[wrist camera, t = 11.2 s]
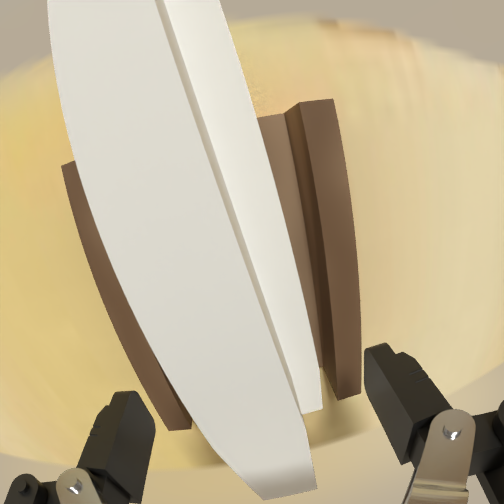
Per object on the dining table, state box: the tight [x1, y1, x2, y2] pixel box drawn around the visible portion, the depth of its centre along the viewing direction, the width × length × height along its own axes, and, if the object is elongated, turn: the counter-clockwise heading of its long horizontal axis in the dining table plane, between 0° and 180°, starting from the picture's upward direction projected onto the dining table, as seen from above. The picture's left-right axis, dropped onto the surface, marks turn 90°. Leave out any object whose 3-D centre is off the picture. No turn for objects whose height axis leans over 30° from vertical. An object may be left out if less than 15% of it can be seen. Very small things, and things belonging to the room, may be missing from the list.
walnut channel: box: [61, 99, 361, 431], centre depth 16 cm, size 12×16×4 cm
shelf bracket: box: [47, 0, 323, 500], centre depth 13 cm, size 6×25×13 cm, turn 14°
